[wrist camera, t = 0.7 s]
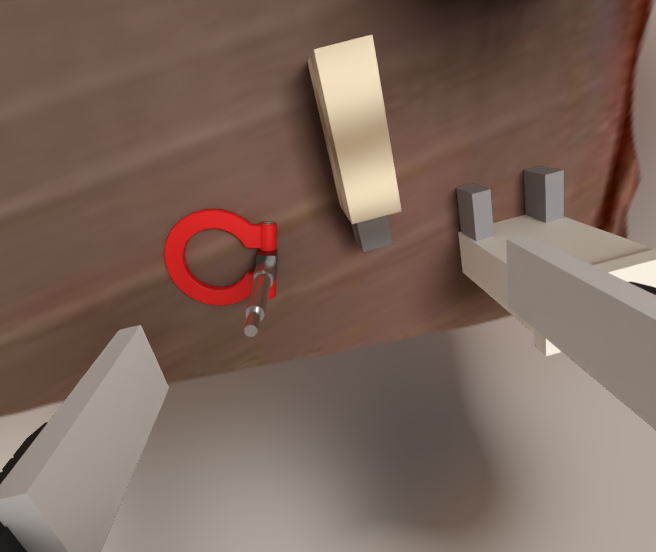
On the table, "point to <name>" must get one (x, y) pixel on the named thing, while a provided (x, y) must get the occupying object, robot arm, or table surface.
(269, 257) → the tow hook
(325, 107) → the rail
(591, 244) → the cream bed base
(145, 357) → the robot arm
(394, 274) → the table surface
